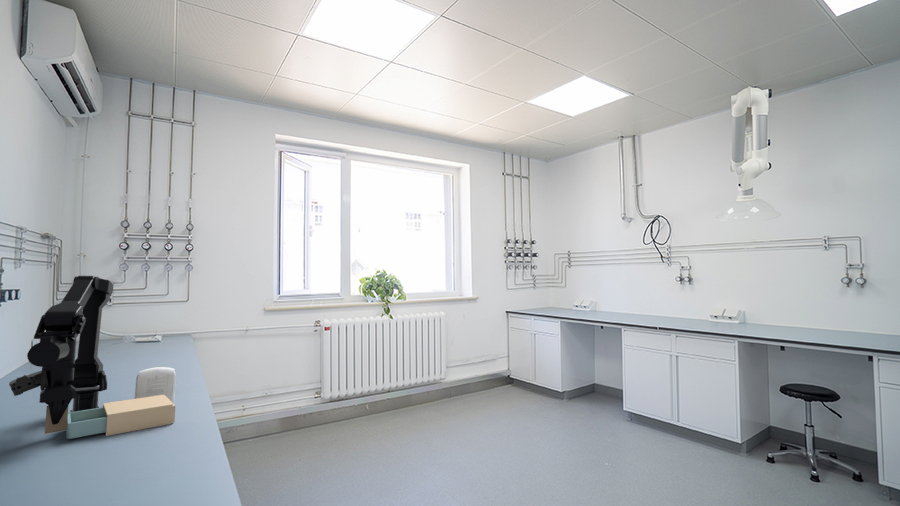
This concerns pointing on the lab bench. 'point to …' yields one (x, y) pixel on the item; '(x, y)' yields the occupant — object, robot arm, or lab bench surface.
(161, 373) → the white product package
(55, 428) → the tray
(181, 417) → the lab bench surface
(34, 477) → the lab bench surface
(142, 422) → the sleeve
